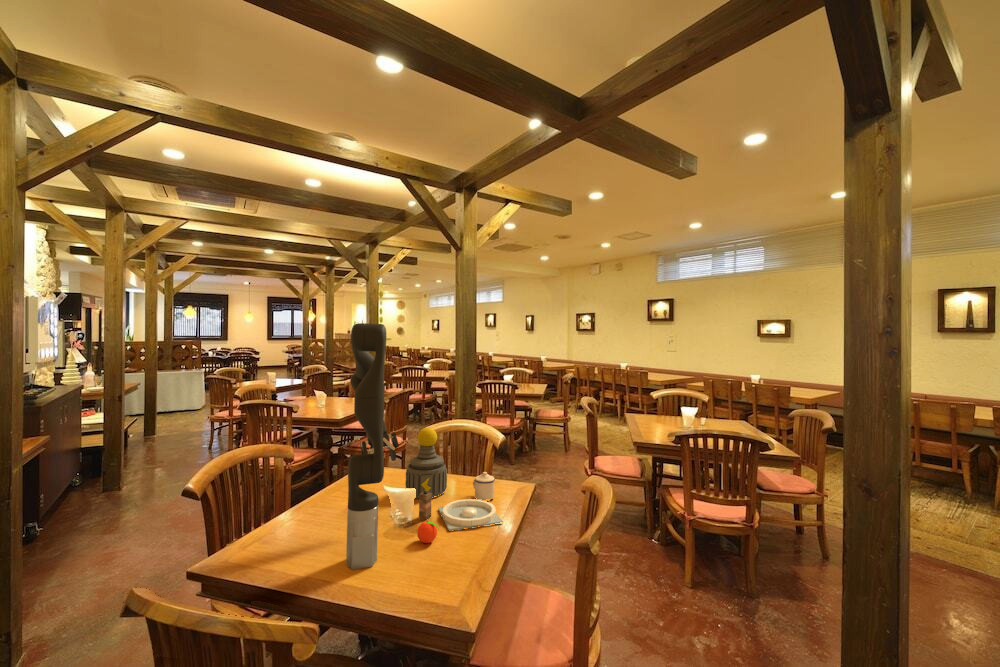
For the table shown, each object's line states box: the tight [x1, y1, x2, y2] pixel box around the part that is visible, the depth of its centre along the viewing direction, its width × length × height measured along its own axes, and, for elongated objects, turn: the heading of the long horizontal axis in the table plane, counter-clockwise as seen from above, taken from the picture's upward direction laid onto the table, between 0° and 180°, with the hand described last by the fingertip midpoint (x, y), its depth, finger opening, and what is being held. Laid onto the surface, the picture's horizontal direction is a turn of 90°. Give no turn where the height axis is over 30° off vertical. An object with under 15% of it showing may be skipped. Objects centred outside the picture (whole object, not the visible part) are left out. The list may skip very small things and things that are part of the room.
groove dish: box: [437, 498, 504, 532], centre depth 161 cm, size 21×21×3 cm
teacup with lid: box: [472, 471, 495, 500], centre depth 182 cm, size 12×9×12 cm
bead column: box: [418, 490, 433, 521], centre depth 159 cm, size 3×3×11 cm
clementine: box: [416, 520, 440, 544], centre depth 139 cm, size 8×7×7 cm
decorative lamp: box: [404, 427, 448, 498], centre depth 187 cm, size 19×19×30 cm
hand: (383, 464), depth 152 cm, fingers open, 8 cm apart
